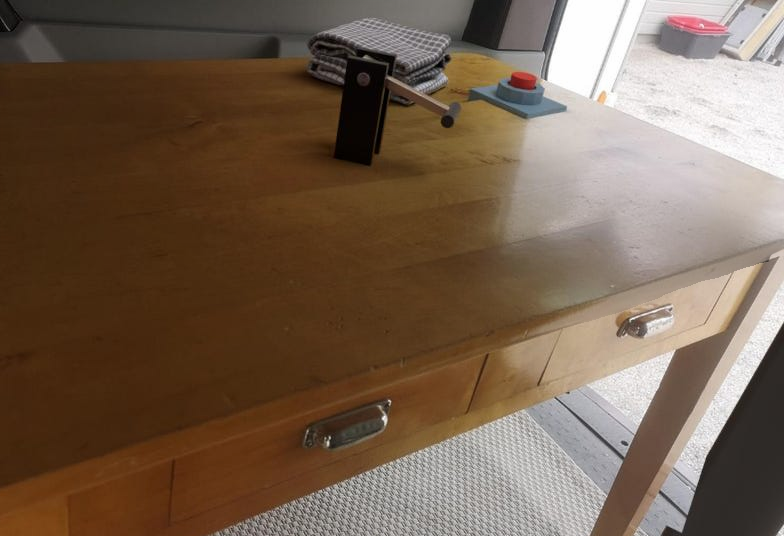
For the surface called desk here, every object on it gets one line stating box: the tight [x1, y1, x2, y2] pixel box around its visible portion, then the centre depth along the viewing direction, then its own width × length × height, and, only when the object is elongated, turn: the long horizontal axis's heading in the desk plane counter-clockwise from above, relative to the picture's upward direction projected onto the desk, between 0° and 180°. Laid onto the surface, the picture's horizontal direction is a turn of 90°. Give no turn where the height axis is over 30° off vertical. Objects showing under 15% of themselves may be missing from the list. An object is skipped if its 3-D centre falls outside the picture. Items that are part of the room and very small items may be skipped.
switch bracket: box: [333, 47, 397, 167], centre depth 86 cm, size 12×9×13 cm
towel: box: [305, 17, 452, 106], centre depth 115 cm, size 15×18×8 cm
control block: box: [467, 77, 568, 120], centre depth 112 cm, size 11×9×4 cm
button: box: [509, 71, 538, 90], centre depth 110 cm, size 4×4×2 cm
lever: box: [363, 55, 462, 129], centre depth 84 cm, size 12×5×2 cm, turn 72°
